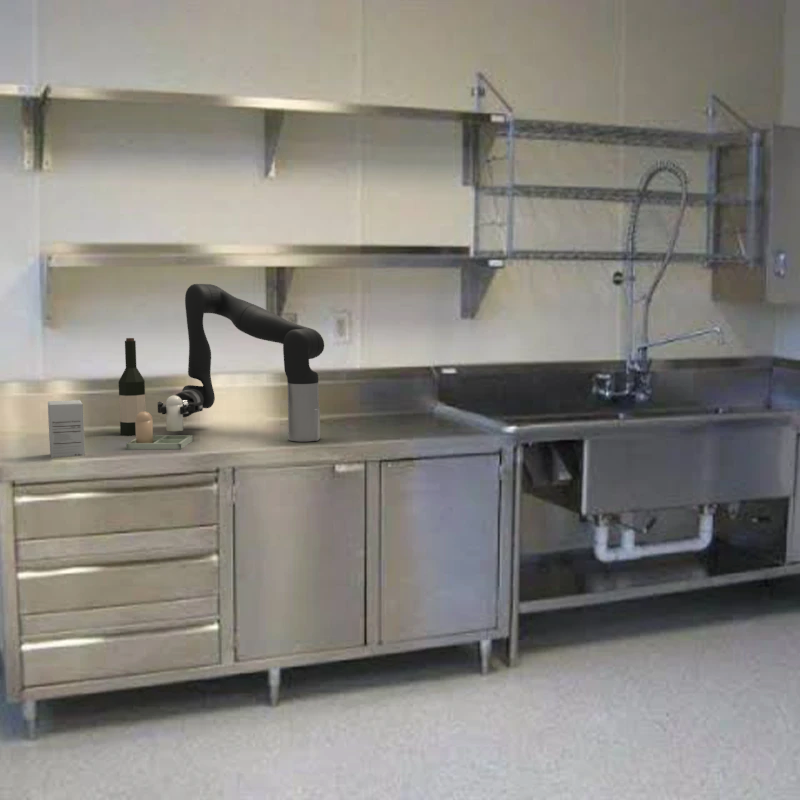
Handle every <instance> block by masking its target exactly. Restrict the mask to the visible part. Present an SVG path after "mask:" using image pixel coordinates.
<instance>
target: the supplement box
mask: <svg viewBox="0 0 800 800" xmlns="http://www.w3.org/2000/svg"><path fill="white" fill-rule="evenodd" d="M47 417H48V437H49V438H48V439H49V440H48V441H49V453H50V457H51V459H53V458H59V457H60V458H61V457H75V456H76V457H77V456H78V457H79V456H85V455H86V448H85V423H84V422H85V421H84V418H85V417H84V403H83V402H82V401H81V399H73V400H72V399H71V400H50V401H47Z"/></svg>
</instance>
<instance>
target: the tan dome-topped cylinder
mask: <svg viewBox="0 0 800 800" xmlns="http://www.w3.org/2000/svg"><path fill="white" fill-rule="evenodd" d="M135 427H136V436H135V438H136V443H153V435H154V422H153V416H152V414H151V413H149V411H142V412H140V413H138V414H137V415H136V418H135Z"/></svg>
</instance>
